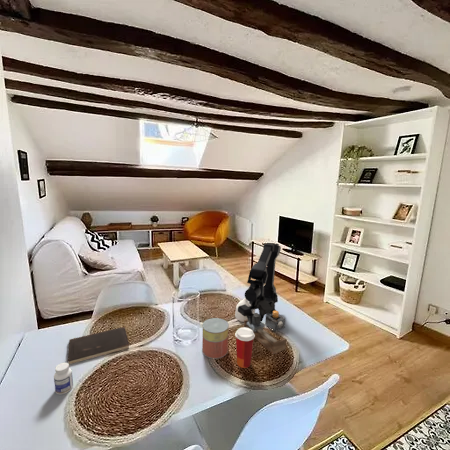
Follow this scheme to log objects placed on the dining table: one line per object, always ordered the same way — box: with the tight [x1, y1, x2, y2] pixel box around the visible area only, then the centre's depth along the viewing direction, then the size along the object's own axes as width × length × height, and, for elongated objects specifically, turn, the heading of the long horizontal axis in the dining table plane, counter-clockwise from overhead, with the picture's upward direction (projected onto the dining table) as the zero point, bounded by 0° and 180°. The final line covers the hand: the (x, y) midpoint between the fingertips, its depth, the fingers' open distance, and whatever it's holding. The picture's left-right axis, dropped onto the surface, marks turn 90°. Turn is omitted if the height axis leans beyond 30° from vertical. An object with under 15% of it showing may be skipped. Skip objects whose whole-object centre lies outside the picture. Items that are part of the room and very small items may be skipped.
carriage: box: [247, 312, 266, 333], centre depth 125 cm, size 6×6×7 cm
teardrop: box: [234, 297, 256, 323], centre depth 138 cm, size 11×11×12 cm
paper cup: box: [234, 326, 255, 369], centre depth 103 cm, size 8×8×14 cm
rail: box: [243, 319, 287, 355], centre depth 120 cm, size 22×7×5 cm, turn 32°
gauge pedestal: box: [264, 312, 286, 332], centre depth 131 cm, size 7×7×5 cm
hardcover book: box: [66, 326, 130, 365], centre depth 112 cm, size 16×23×2 cm
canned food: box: [201, 317, 230, 360], centre depth 110 cm, size 11×11×12 cm
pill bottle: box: [53, 362, 74, 395], centre depth 88 cm, size 5×5×9 cm
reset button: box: [272, 310, 280, 320], centre depth 130 cm, size 3×3×4 cm
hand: (255, 322), depth 125 cm, fingers open, 6 cm apart
